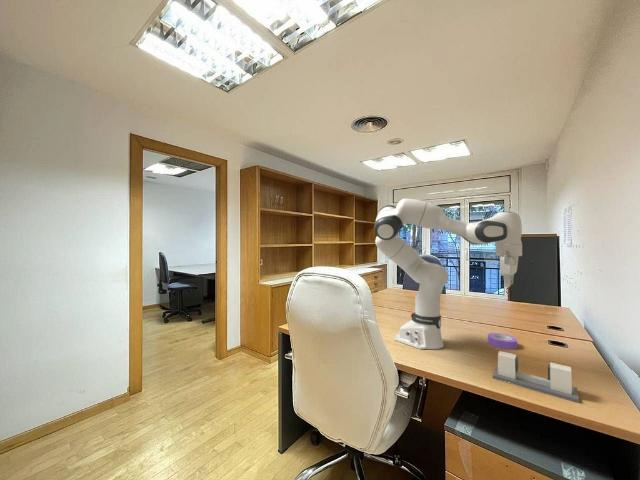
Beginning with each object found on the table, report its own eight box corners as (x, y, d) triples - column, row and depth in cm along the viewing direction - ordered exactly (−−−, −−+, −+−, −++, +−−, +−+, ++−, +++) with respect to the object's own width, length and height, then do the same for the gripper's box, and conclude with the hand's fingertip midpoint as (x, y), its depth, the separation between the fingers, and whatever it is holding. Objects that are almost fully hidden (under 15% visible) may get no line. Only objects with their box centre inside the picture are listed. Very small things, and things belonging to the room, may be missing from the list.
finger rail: (492, 378, 93) (492, 355, 94) (496, 369, 100) (496, 348, 100) (579, 403, 79) (578, 376, 79) (577, 390, 86) (576, 366, 86)
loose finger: (498, 374, 94) (497, 354, 94) (499, 369, 97) (499, 351, 98) (517, 379, 90) (517, 359, 91) (518, 374, 94) (518, 355, 94)
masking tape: (522, 350, 118) (522, 342, 118) (494, 348, 120) (494, 340, 120) (509, 341, 130) (509, 333, 130) (483, 339, 132) (483, 332, 132)
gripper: (515, 252, 97) (515, 289, 97) (520, 251, 112) (520, 283, 112) (495, 251, 101) (495, 287, 101) (502, 251, 116) (503, 282, 116)
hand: (508, 285), depth 106 cm, fingers open, 8 cm apart
